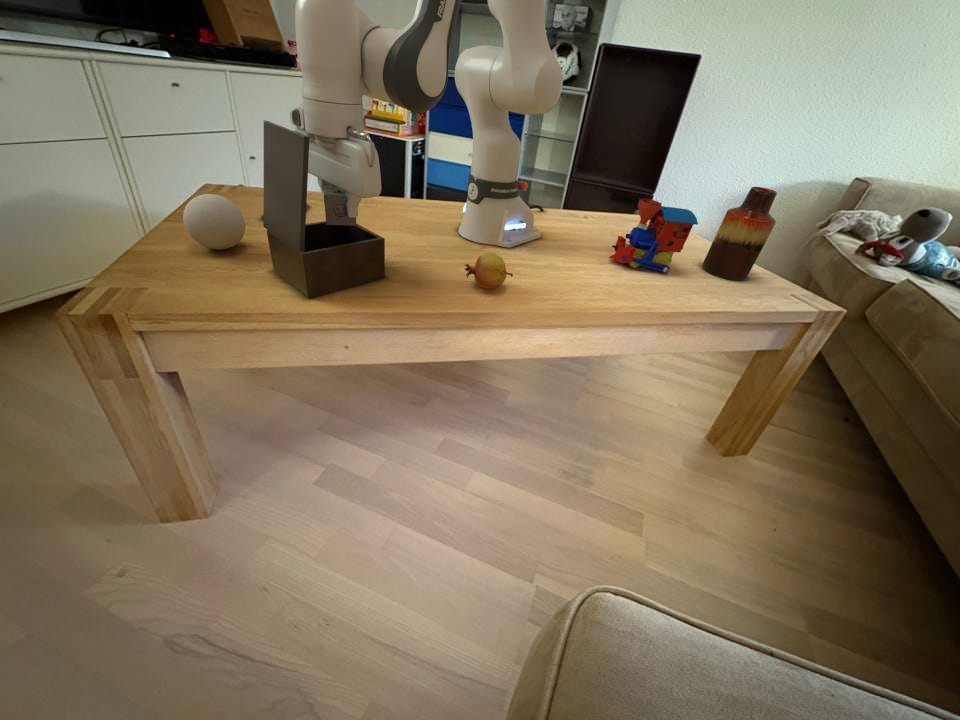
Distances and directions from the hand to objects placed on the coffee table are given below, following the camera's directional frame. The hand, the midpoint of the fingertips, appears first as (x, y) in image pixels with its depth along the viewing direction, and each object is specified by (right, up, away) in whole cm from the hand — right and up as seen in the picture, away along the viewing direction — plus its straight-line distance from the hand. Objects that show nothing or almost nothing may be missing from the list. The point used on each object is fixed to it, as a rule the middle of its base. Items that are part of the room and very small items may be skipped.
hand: (340, 210), depth 73 cm
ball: (-26, -4, +9) cm, 28 cm away
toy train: (+64, -3, +30) cm, 71 cm away
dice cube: (0, -2, +1) cm, 2 cm away
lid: (-6, +1, -9) cm, 10 cm away
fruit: (+26, -12, +9) cm, 30 cm away
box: (-3, -10, +5) cm, 12 cm away
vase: (+88, -4, +34) cm, 94 cm away
